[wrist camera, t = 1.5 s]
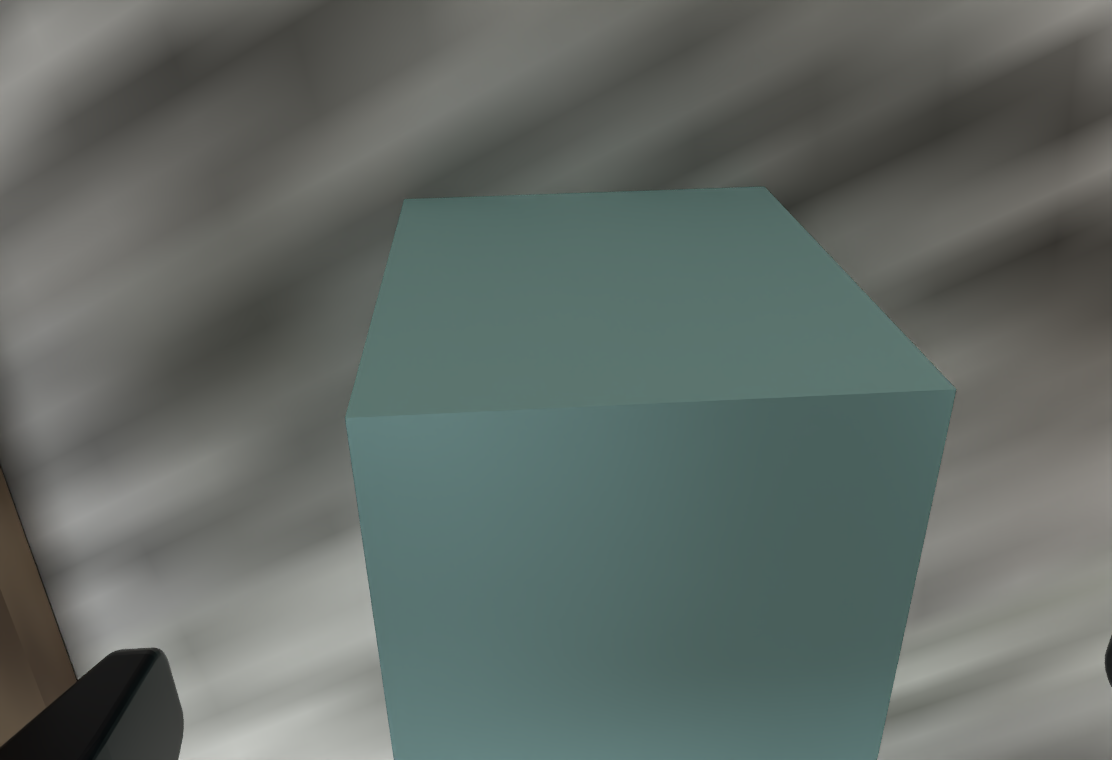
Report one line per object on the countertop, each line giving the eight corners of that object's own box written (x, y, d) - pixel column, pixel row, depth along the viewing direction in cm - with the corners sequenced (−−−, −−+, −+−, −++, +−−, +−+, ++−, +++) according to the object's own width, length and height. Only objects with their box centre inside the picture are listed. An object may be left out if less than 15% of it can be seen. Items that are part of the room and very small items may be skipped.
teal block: (736, 482, 15) (869, 796, 10) (433, 497, 15) (403, 828, 10) (763, 185, 13) (956, 389, 8) (404, 197, 13) (345, 417, 7)
